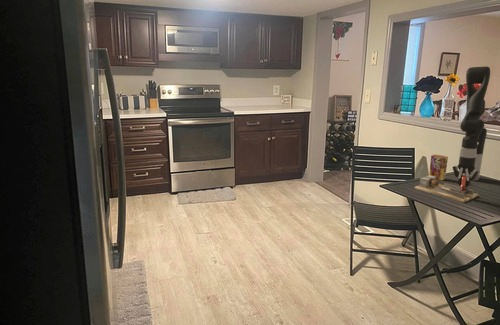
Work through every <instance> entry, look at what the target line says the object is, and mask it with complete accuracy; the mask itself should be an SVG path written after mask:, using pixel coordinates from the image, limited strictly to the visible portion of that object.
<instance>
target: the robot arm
mask: <svg viewBox="0 0 500 325" xmlns="http://www.w3.org/2000/svg"><path fill="white" fill-rule="evenodd" d="M490 79H491V68H490V66H487V65H486V66H472V67H469V68H467V70H466V75H465V80H466V81H465V82H466V108H465V109H466V111H465V115H464V116H463V119H462V120H461V122H460V125H459V126H460V127H459V128H460V130H461V131H462V132H465V136H463V137H462V141H461V148H460V151H459V158H458V159H459V160H458V165H454V166H452V171H453V173H454V177H456V178H458V180H457V184H458V186H460V185H461V178H462V175H466V177H467V181H466V187H467V188H469V187H470V186H471V182H472V181H479V180H480V175H481V169H482V163H483V162H482V161H483V155H484V148H485V144H486V143H485V142H486V139H487V133H488V131H487V128H486V127H485V122H484V120H483V119H481V117H482V116H483V115H484V113H485V112H486V100H485V97H486V94H487V91H488V87H489V83H490ZM475 85H480V86H479V88H478V89H476V87H475Z"/></svg>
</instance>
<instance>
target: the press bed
mask: <svg viewBox="0 0 500 325" xmlns="http://www.w3.org/2000/svg"><path fill="white" fill-rule="evenodd" d="M431 180H437V179H436V177H435V176H431V175H429V174H428V175H425V176H423V177H420V179H419V185H417V186H414V189H415V190H418V191H421V192H425V193H427V194H431V193H432V195H435V196H440V197H442V198H445V197H446V198H445V199H449V200H453V201H455V202H456V201H457V202H459V203H466V202H468V201H471V200H473V199H474V198H477V197H478V196H479V193H474V190H473V189H469V188H467V189H468V194H466V195H465V194H463V193H459V192H455V191H452V190H450V189H451V188H453V187H456V186H457V185H454V184H450V183H446V182H444V183H443V184H440V183H439V184H438V187H437V186H435V188H431Z"/></svg>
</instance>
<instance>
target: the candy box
mask: <svg viewBox="0 0 500 325" xmlns="http://www.w3.org/2000/svg"><path fill="white" fill-rule="evenodd" d="M448 159H449V156H447V155H442V154H435V153H434V154H431V156H430V166H429V173H428V176H429V175H431V176H435V177H436V180H438V181H443V180H444V181H445V180H446V175H447V174H446V173H447V167H448Z"/></svg>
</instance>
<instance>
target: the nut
mask: <svg viewBox="0 0 500 325" xmlns="http://www.w3.org/2000/svg"><path fill="white" fill-rule="evenodd" d="M439 181H440V180H439V179H436V180H431V188H435V186H437V187H438V184H440V182H439Z"/></svg>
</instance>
